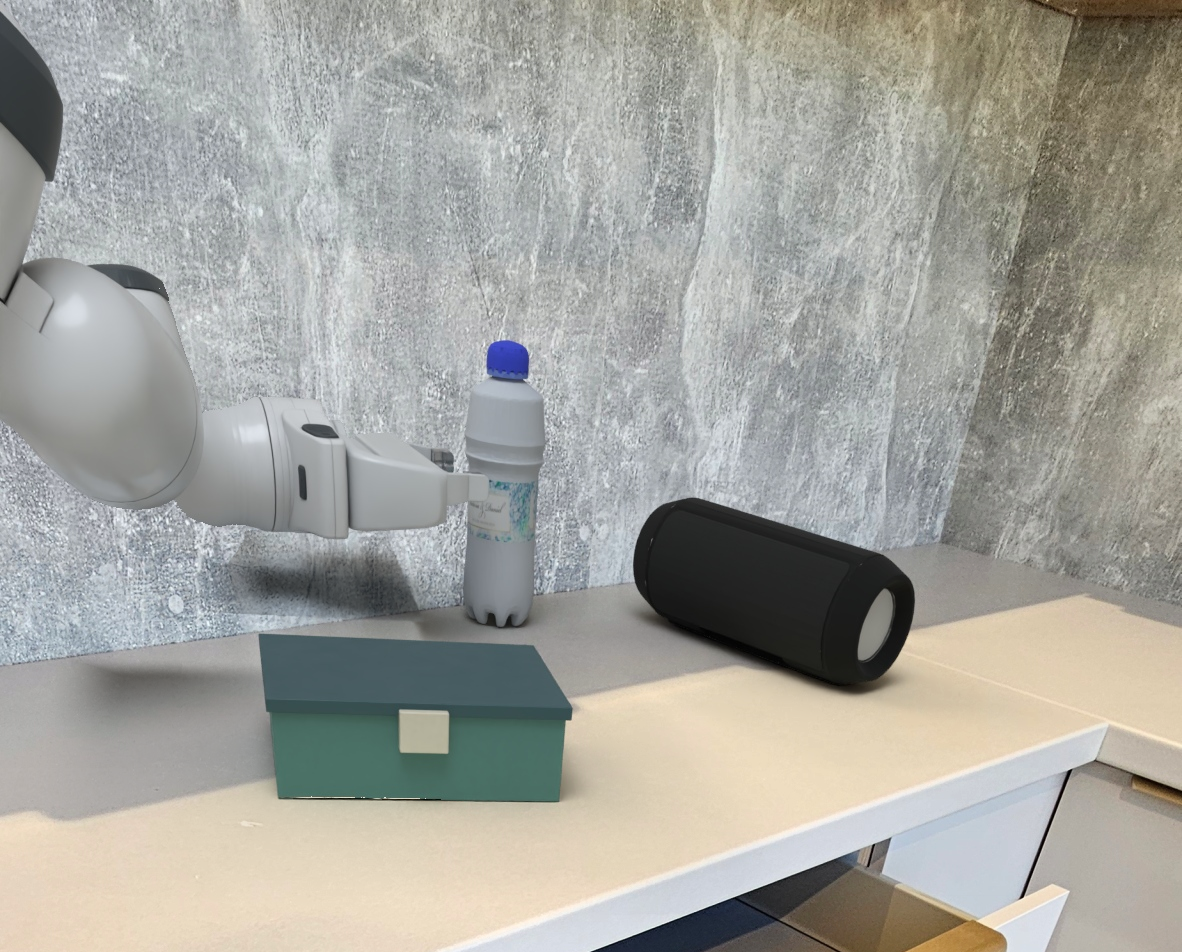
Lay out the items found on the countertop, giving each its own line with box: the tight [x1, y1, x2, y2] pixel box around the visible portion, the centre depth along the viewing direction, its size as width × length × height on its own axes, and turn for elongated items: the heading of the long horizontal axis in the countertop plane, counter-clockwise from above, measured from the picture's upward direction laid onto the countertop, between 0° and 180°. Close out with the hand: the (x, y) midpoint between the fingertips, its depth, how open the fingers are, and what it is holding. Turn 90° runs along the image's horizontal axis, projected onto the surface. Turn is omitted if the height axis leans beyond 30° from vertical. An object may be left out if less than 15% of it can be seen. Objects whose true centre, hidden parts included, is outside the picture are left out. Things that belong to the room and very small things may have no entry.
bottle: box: [462, 339, 547, 628], centre depth 100 cm, size 7×7×20 cm
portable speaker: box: [632, 496, 916, 686], centre depth 105 cm, size 26×10×10 cm, turn 45°
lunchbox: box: [258, 633, 574, 802], centre depth 78 cm, size 19×14×6 cm
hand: (468, 474), depth 98 cm, fingers open, 8 cm apart
